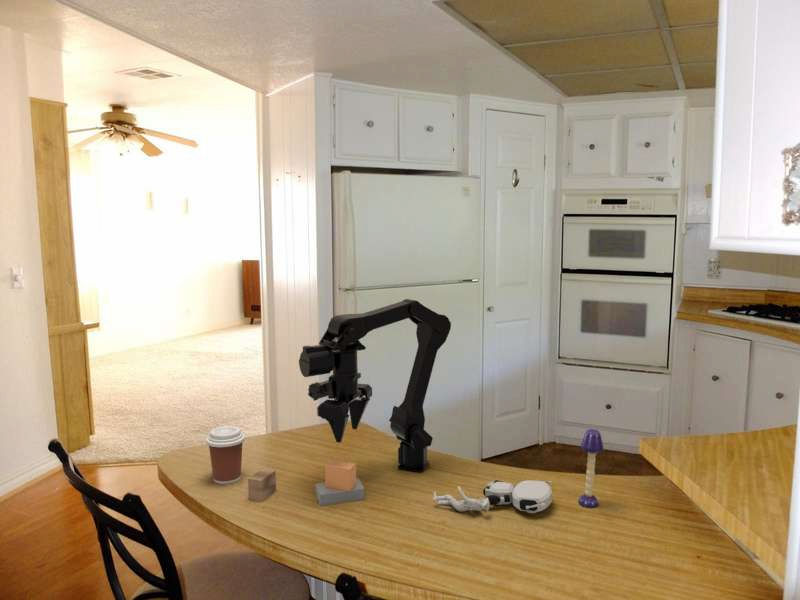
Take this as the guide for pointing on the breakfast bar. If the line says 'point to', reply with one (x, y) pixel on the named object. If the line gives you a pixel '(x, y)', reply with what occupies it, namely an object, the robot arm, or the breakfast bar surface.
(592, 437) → the toy lamp
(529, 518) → the breakfast bar surface
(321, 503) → the grey brick
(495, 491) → the robot toy
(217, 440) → the coffee cup
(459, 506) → the white plastic figure
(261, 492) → the walnut brick
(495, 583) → the breakfast bar surface
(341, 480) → the orange brick
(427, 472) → the breakfast bar surface
